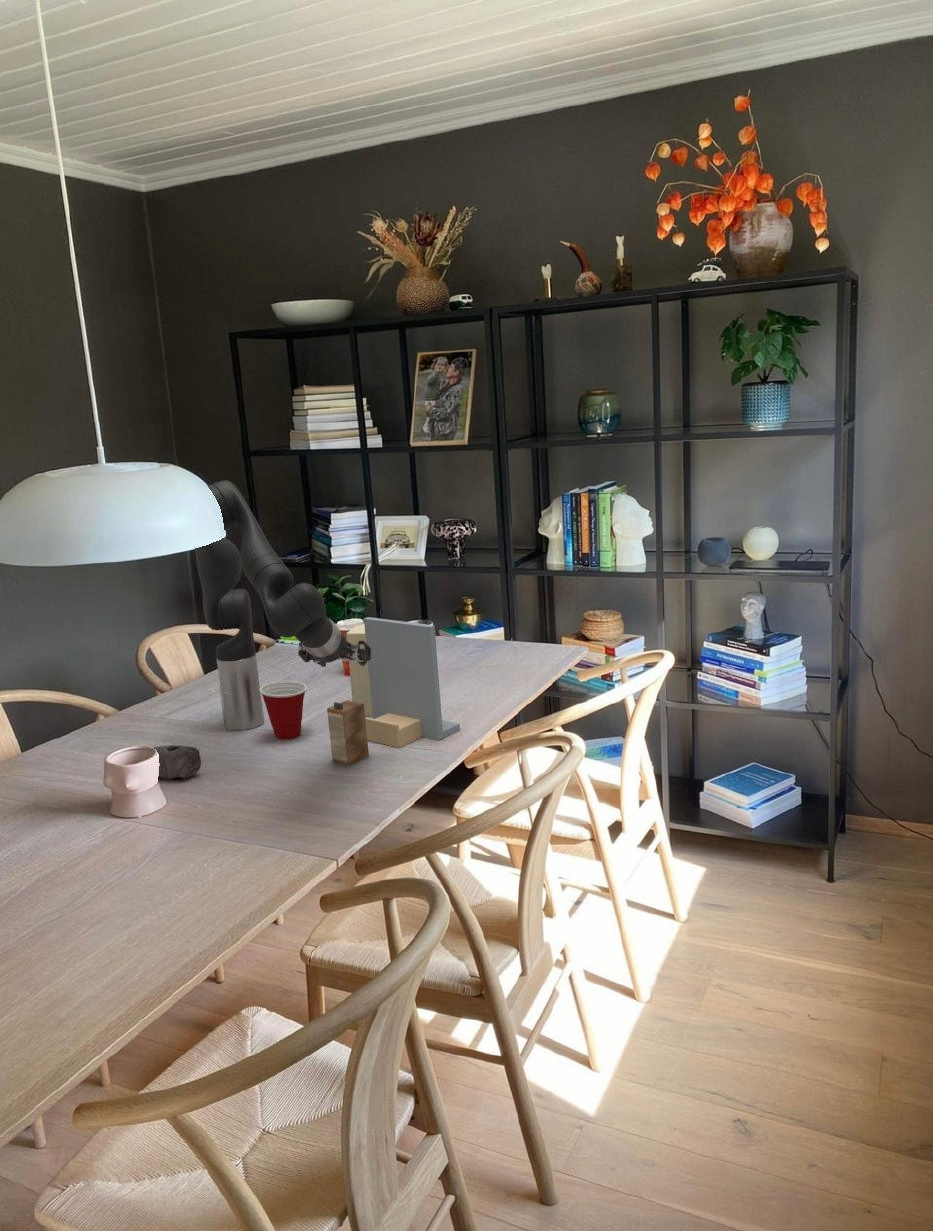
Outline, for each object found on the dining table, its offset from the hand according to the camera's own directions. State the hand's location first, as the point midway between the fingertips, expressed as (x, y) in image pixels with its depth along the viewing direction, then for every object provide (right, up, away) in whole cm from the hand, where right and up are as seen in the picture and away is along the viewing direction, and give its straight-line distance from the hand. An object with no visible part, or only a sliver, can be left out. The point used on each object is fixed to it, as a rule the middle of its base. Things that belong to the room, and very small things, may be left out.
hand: (344, 662), depth 200 cm
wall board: (+13, -17, +15) cm, 26 cm away
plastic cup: (-15, -18, +18) cm, 30 cm away
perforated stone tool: (-37, -24, -1) cm, 44 cm away
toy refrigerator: (+3, -14, +32) cm, 35 cm away
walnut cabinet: (+1, -21, +2) cm, 21 cm away
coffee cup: (-5, -7, +65) cm, 66 cm away
